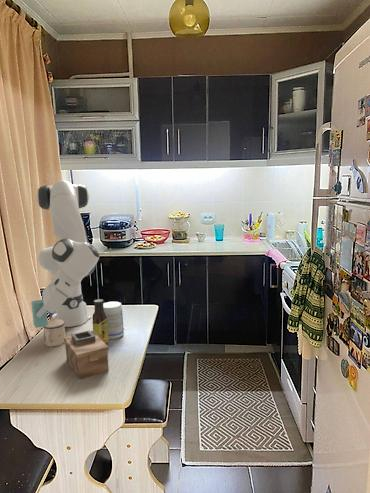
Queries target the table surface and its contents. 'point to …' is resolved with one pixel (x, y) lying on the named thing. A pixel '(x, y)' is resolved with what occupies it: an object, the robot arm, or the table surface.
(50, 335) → the teacup with lid
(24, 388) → the table surface
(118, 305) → the supplement tub
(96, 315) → the sauce bottle
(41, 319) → the teal rectangular block
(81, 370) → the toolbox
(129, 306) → the table surface
